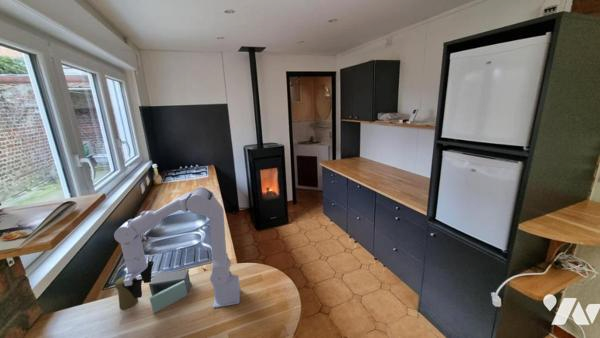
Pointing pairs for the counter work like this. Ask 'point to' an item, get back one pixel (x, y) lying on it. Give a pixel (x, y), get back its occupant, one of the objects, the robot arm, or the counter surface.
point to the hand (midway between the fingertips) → (143, 289)
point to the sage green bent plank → (168, 296)
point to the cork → (124, 295)
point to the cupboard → (169, 280)
